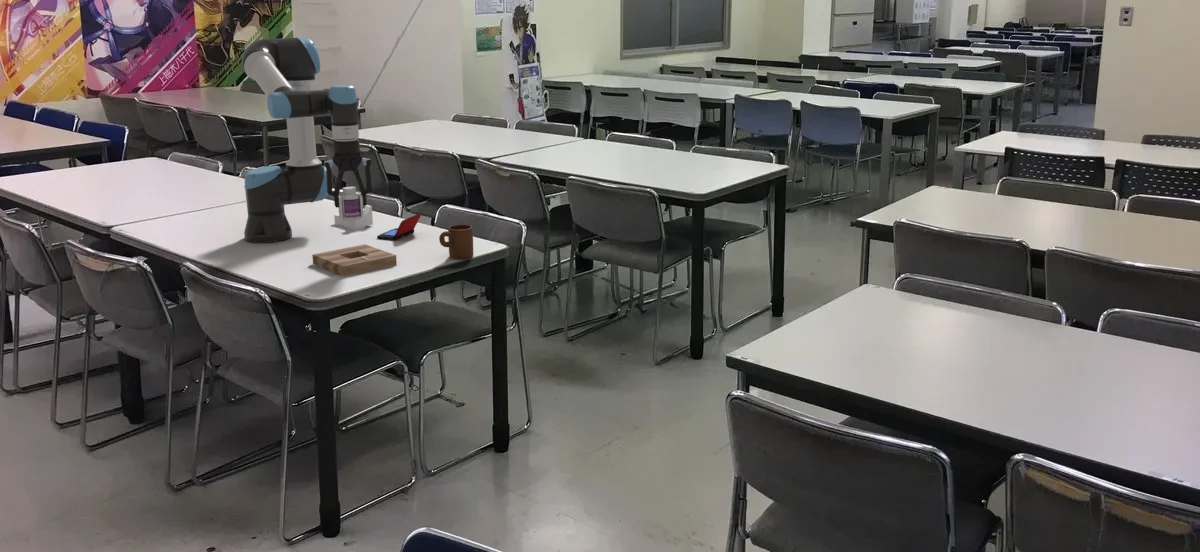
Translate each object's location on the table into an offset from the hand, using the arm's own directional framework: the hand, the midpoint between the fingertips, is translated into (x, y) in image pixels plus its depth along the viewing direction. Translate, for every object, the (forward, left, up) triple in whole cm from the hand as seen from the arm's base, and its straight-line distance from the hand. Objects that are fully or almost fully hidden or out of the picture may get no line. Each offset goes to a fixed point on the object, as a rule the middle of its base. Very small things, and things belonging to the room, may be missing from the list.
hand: (351, 216), depth 288 cm
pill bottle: (0, 0, -1) cm, 1 cm away
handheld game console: (-21, +29, -15) cm, 39 cm away
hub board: (0, 0, -15) cm, 15 cm away
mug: (+15, +27, -15) cm, 34 cm away
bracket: (-46, +26, -15) cm, 55 cm away
